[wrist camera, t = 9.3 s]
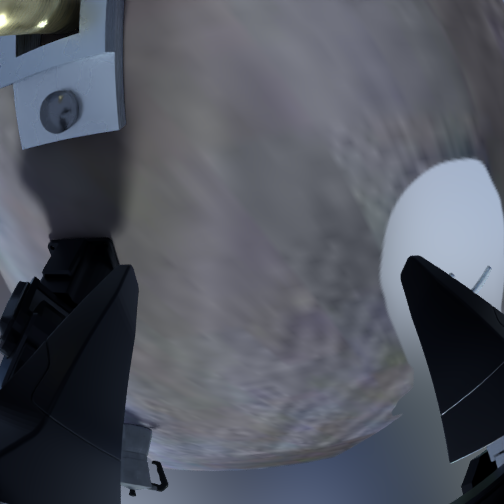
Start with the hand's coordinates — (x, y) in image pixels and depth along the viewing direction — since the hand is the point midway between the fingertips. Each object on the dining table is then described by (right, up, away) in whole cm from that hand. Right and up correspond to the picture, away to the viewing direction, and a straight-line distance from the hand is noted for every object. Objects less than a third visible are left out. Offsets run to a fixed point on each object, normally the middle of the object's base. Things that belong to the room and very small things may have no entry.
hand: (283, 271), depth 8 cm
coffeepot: (-28, -42, +45) cm, 68 cm away
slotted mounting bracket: (-13, +16, +1) cm, 20 cm away
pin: (-13, +16, +1) cm, 20 cm away
